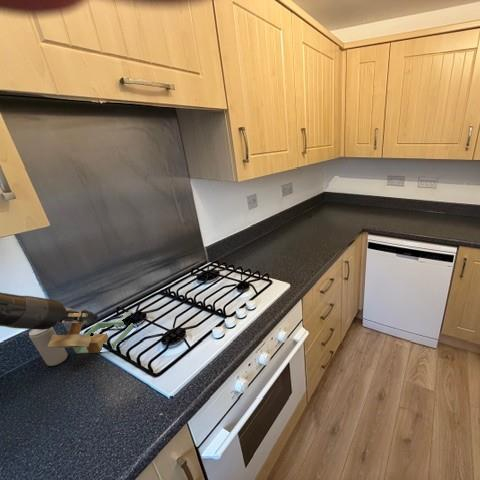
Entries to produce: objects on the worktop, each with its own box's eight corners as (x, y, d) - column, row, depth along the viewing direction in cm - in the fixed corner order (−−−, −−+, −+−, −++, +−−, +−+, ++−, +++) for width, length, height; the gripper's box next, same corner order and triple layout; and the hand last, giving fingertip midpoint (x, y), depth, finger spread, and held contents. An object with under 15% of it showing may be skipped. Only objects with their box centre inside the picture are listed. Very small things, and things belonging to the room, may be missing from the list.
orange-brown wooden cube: (83, 343, 79) (94, 333, 82) (89, 353, 80) (99, 343, 84) (96, 342, 79) (106, 333, 82) (101, 352, 80) (111, 342, 84)
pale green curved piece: (116, 351, 81) (112, 343, 79) (75, 353, 81) (71, 345, 80) (150, 314, 97) (147, 307, 95) (116, 316, 97) (113, 309, 96)
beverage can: (60, 353, 81) (42, 323, 76) (73, 354, 80) (55, 324, 76) (43, 366, 77) (22, 335, 72) (56, 367, 76) (37, 336, 71)
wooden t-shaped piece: (47, 346, 71) (62, 309, 75) (60, 347, 74) (74, 312, 79) (76, 345, 70) (89, 308, 75) (88, 346, 74) (100, 311, 79)
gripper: (64, 296, 65) (116, 305, 81) (10, 298, 65) (72, 307, 81) (54, 327, 62) (110, 331, 78) (-3, 329, 62) (64, 332, 78)
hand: (90, 319), depth 80 cm, fingers closed on wooden t-shaped piece, 2 cm apart
